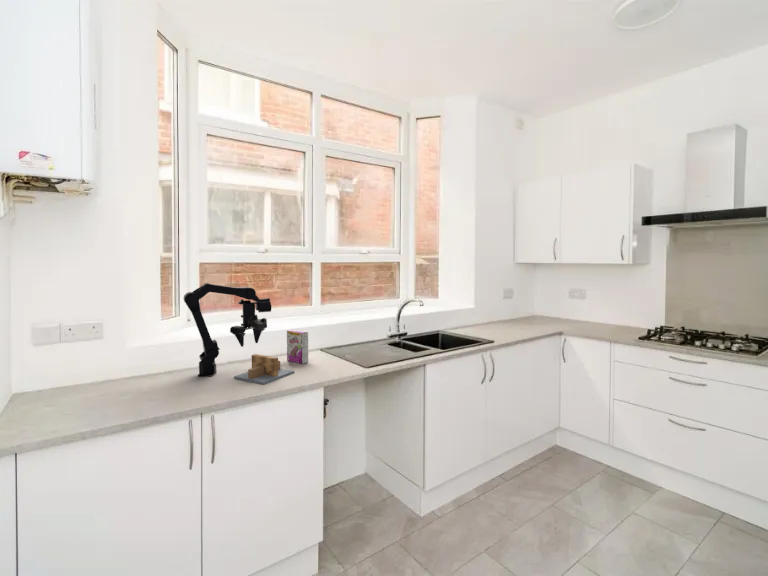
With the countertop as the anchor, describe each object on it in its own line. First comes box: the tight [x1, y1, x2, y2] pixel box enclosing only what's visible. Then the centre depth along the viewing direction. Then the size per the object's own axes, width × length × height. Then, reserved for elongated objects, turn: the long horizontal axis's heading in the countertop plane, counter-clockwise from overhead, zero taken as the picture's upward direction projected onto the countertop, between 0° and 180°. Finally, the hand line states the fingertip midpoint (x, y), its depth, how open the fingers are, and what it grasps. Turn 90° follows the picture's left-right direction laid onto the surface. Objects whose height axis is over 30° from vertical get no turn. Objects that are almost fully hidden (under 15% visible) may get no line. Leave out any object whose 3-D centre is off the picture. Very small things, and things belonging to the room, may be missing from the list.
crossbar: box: [251, 353, 279, 376], centre depth 186 cm, size 14×2×8 cm, turn 63°
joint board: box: [233, 360, 295, 385], centre depth 186 cm, size 20×18×5 cm
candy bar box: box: [286, 329, 309, 365], centre depth 210 cm, size 11×5×16 cm, turn 58°
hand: (249, 344), depth 196 cm, fingers open, 9 cm apart
